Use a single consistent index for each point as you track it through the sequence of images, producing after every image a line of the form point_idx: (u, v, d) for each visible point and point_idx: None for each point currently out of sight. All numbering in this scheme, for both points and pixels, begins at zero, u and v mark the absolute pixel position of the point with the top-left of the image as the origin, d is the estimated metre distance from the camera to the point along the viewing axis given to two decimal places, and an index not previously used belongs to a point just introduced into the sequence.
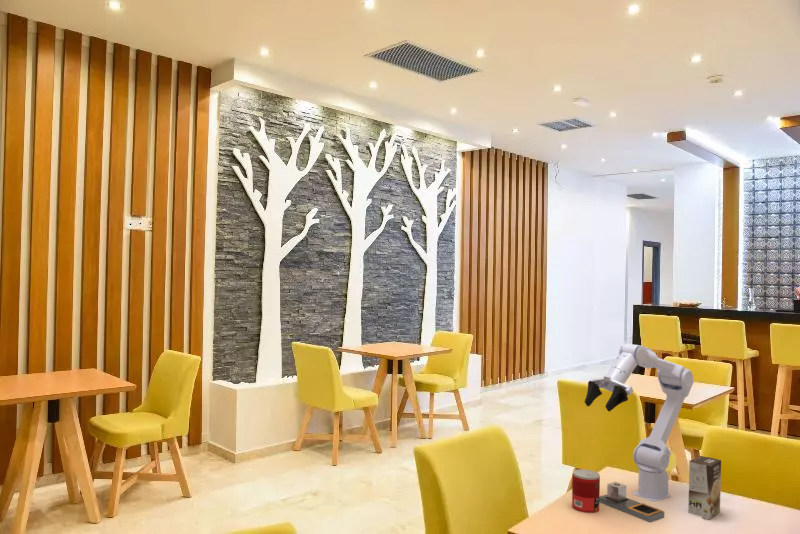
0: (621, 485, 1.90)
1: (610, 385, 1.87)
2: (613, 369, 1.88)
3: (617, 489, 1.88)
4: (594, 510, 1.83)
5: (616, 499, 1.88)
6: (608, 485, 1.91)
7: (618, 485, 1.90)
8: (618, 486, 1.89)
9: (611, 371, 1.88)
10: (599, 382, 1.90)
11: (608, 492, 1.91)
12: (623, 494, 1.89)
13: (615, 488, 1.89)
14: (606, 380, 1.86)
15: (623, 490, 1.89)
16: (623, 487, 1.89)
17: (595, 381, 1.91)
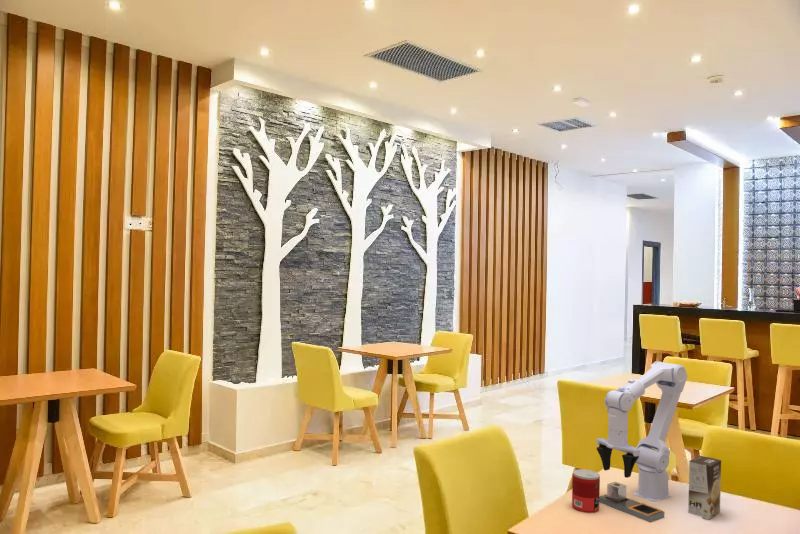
0: (621, 485, 1.90)
1: None
2: (611, 433, 1.89)
3: (617, 489, 1.88)
4: (594, 510, 1.83)
5: (616, 499, 1.88)
6: (608, 485, 1.91)
7: (618, 485, 1.90)
8: (618, 486, 1.89)
9: (611, 436, 1.89)
10: None
11: (608, 492, 1.91)
12: (623, 494, 1.89)
13: (615, 488, 1.89)
14: None
15: (623, 490, 1.89)
16: (623, 487, 1.89)
17: None
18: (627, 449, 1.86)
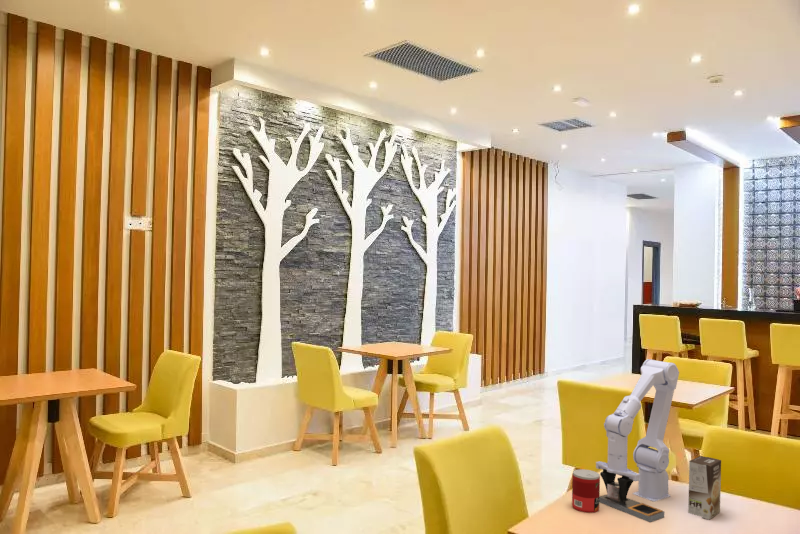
0: None
1: None
2: (611, 457, 1.89)
3: (617, 489, 1.88)
4: (594, 510, 1.83)
5: (616, 499, 1.88)
6: (608, 485, 1.91)
7: (618, 485, 1.90)
8: (618, 486, 1.89)
9: (610, 460, 1.89)
10: None
11: (608, 492, 1.91)
12: None
13: (615, 488, 1.89)
14: None
15: None
16: None
17: None
18: (627, 474, 1.86)
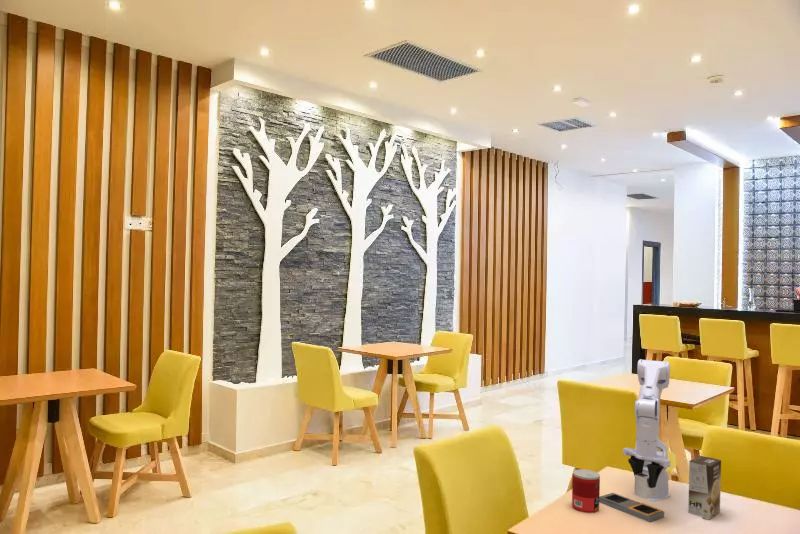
0: None
1: None
2: (640, 443, 1.81)
3: (645, 480, 1.80)
4: (594, 510, 1.83)
5: (644, 490, 1.80)
6: (635, 476, 1.82)
7: (646, 475, 1.81)
8: (646, 477, 1.80)
9: (639, 446, 1.81)
10: None
11: (635, 483, 1.82)
12: None
13: (643, 479, 1.80)
14: None
15: None
16: None
17: None
18: (657, 460, 1.78)
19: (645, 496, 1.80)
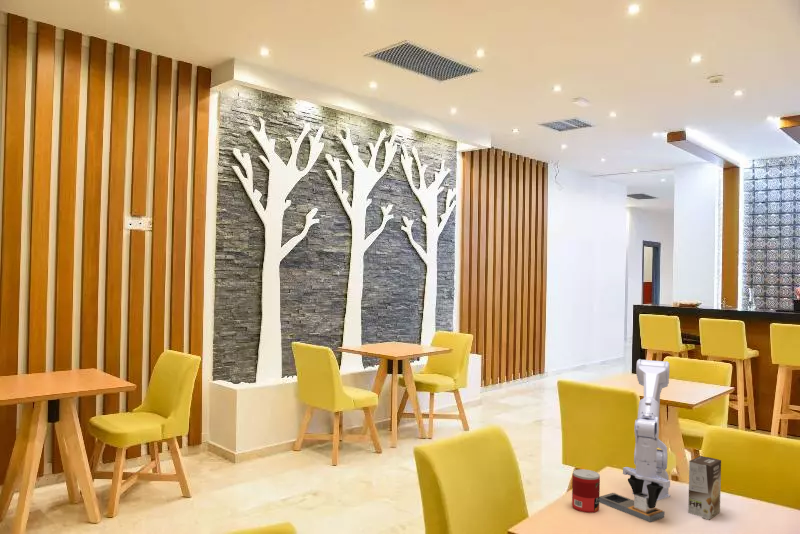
0: None
1: None
2: (639, 463, 1.81)
3: (645, 500, 1.80)
4: (594, 510, 1.83)
5: (644, 510, 1.80)
6: (635, 496, 1.82)
7: (646, 495, 1.81)
8: (646, 497, 1.80)
9: (639, 466, 1.81)
10: None
11: (635, 503, 1.82)
12: None
13: (643, 499, 1.80)
14: None
15: None
16: None
17: None
18: (656, 480, 1.78)
19: None
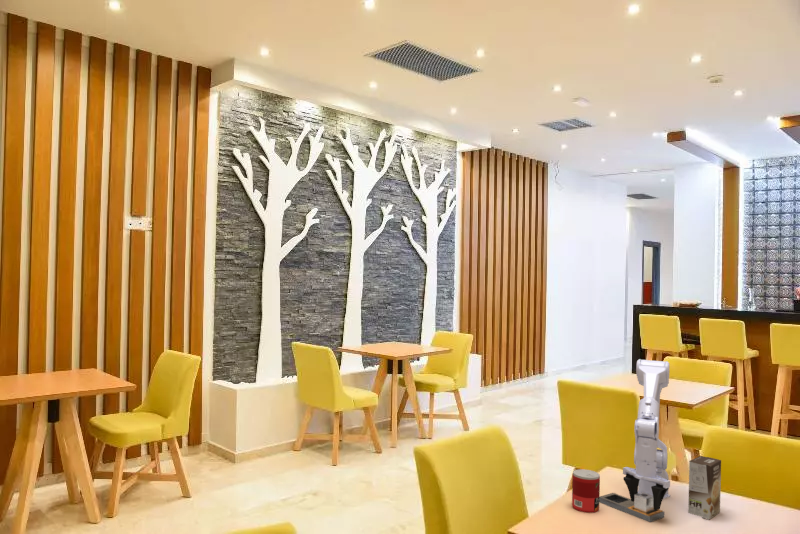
0: (649, 496, 1.81)
1: None
2: (639, 463, 1.81)
3: (645, 500, 1.80)
4: (594, 510, 1.83)
5: (644, 510, 1.80)
6: (635, 496, 1.82)
7: (646, 495, 1.82)
8: (646, 497, 1.80)
9: (639, 466, 1.81)
10: None
11: (635, 503, 1.82)
12: (651, 505, 1.81)
13: (643, 499, 1.80)
14: None
15: (651, 501, 1.81)
16: (651, 497, 1.81)
17: None
18: (656, 480, 1.78)
19: None
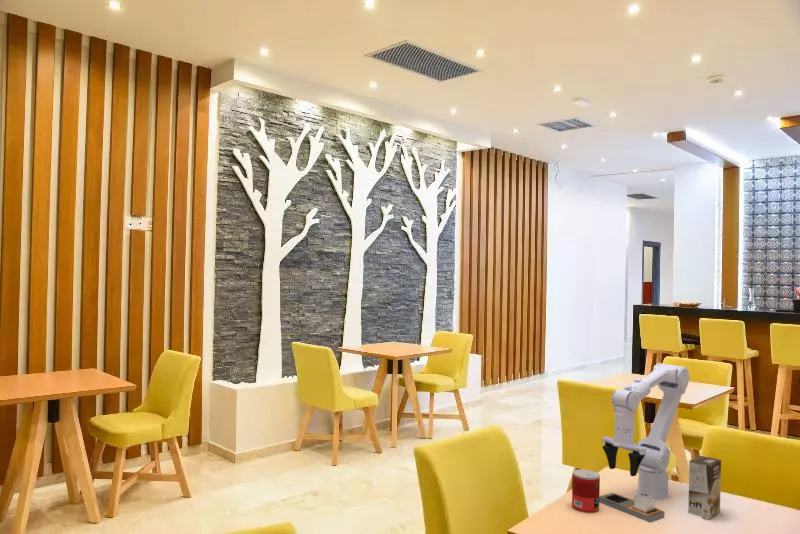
0: (649, 496, 1.81)
1: None
2: (617, 431, 1.89)
3: (645, 500, 1.80)
4: (594, 510, 1.83)
5: (644, 510, 1.80)
6: (635, 496, 1.82)
7: (646, 495, 1.82)
8: (646, 497, 1.80)
9: (617, 434, 1.90)
10: None
11: (635, 503, 1.82)
12: (651, 505, 1.81)
13: (643, 499, 1.80)
14: None
15: (651, 501, 1.81)
16: (651, 497, 1.81)
17: None
18: (633, 447, 1.86)
19: None
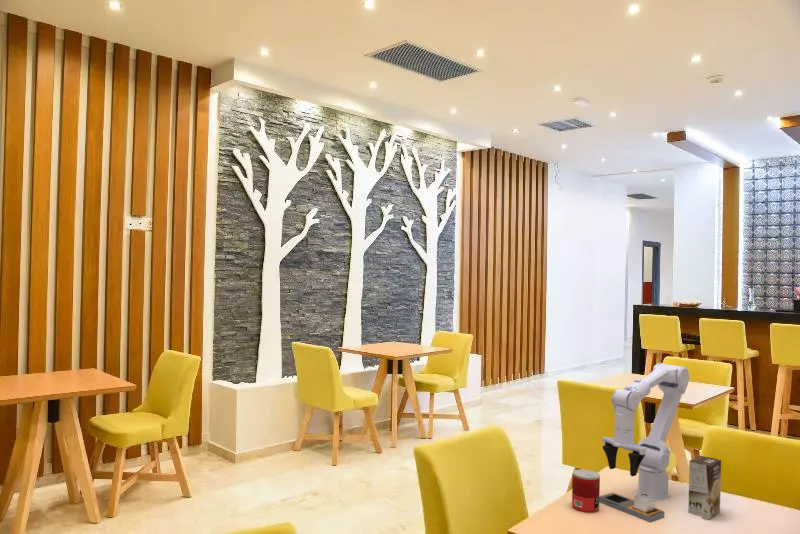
0: (649, 496, 1.81)
1: None
2: (617, 431, 1.89)
3: (645, 500, 1.80)
4: (594, 510, 1.83)
5: (644, 510, 1.80)
6: (635, 496, 1.82)
7: (646, 495, 1.82)
8: (646, 497, 1.80)
9: (617, 434, 1.90)
10: None
11: (635, 503, 1.82)
12: (651, 505, 1.81)
13: (643, 499, 1.80)
14: None
15: (651, 501, 1.81)
16: (651, 497, 1.81)
17: None
18: (633, 447, 1.86)
19: None
